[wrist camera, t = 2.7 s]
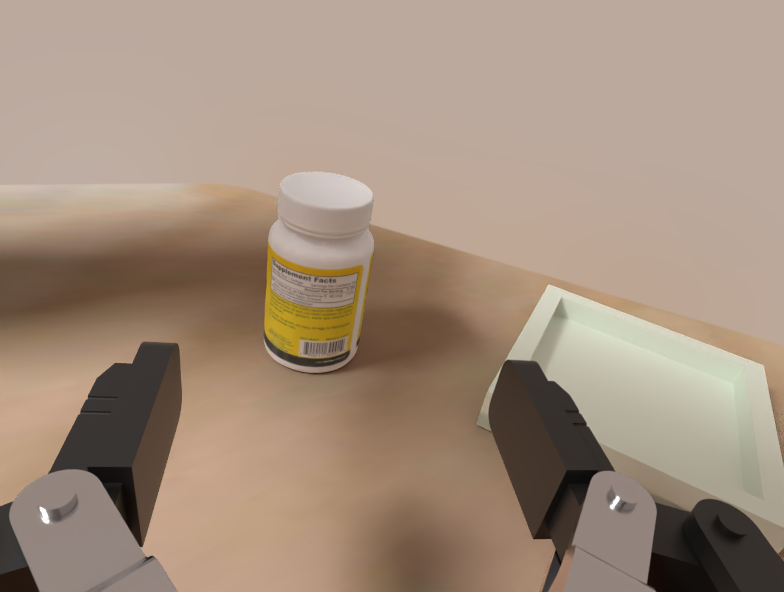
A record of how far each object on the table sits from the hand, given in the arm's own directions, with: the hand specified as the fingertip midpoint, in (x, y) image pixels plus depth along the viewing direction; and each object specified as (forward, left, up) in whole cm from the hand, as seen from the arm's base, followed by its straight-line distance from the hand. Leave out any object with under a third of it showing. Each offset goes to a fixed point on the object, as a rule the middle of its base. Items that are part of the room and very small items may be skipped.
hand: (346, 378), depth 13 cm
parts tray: (+8, +15, -8) cm, 19 cm away
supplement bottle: (-7, +9, -8) cm, 14 cm away
